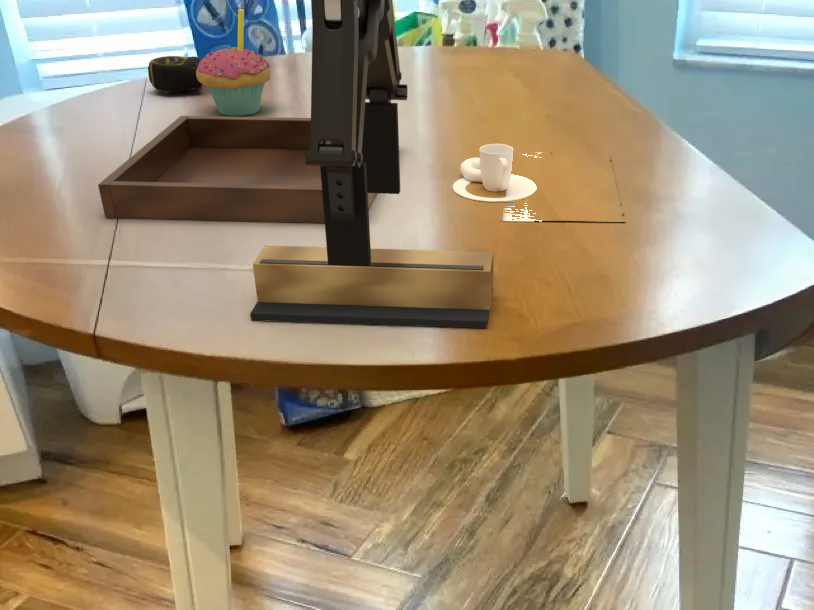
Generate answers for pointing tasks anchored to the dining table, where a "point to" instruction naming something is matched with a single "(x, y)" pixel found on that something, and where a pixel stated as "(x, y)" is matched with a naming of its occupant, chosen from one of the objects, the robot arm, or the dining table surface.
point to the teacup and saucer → (496, 179)
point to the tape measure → (174, 73)
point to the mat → (370, 315)
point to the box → (221, 173)
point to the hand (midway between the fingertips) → (367, 225)
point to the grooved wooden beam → (376, 278)
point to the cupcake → (235, 76)
